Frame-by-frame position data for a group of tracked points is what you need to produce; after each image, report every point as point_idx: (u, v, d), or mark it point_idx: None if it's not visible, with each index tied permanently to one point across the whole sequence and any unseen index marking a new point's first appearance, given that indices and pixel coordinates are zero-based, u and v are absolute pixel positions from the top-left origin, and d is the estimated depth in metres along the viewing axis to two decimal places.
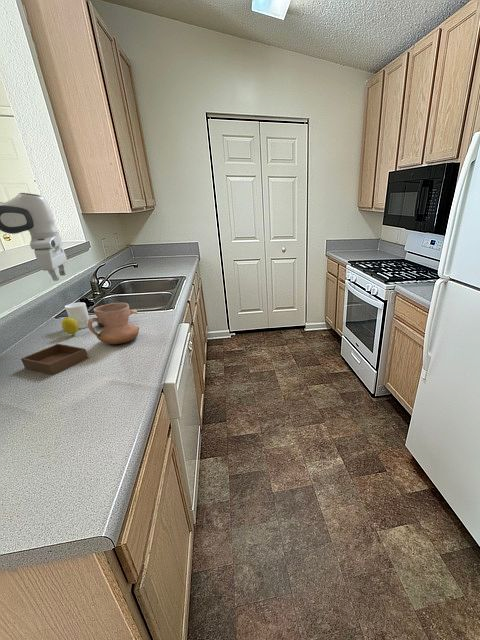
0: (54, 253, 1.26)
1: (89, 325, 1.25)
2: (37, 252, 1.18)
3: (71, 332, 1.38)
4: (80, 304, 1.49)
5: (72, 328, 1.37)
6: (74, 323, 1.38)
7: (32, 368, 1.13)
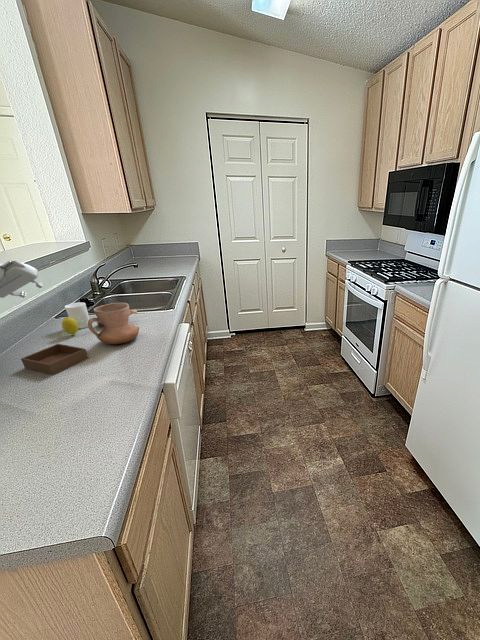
0: (1, 283, 1.21)
1: (89, 325, 1.25)
2: None
3: (71, 332, 1.38)
4: (80, 304, 1.49)
5: (72, 328, 1.37)
6: (74, 323, 1.38)
7: (32, 368, 1.13)
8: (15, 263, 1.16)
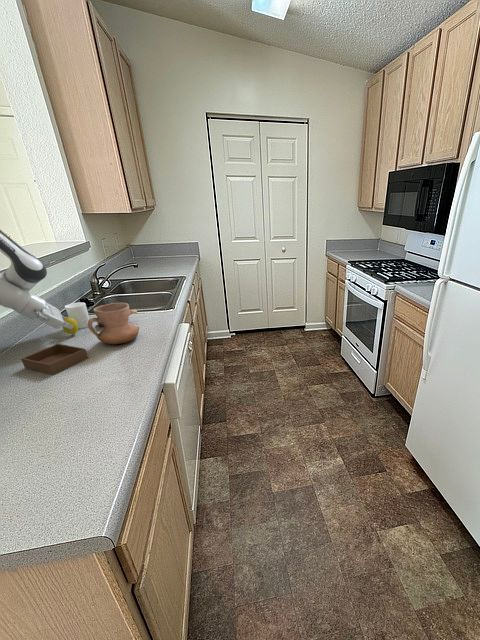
0: None
1: (89, 325, 1.25)
2: None
3: (71, 332, 1.38)
4: (80, 304, 1.49)
5: None
6: (74, 323, 1.38)
7: (32, 368, 1.13)
8: (39, 316, 1.24)
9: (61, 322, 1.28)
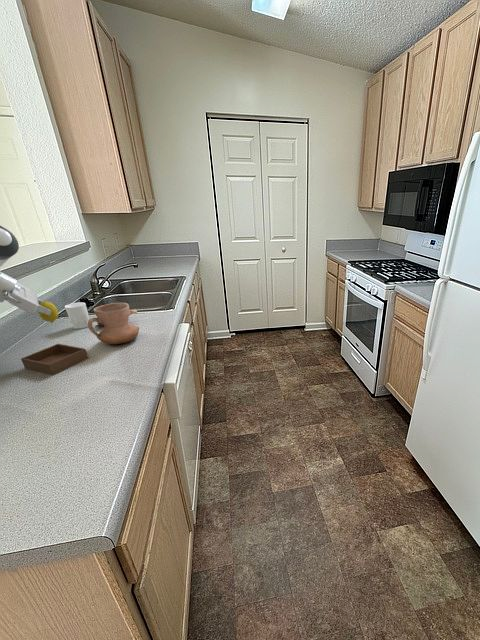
0: None
1: (89, 325, 1.25)
2: None
3: (49, 319, 1.17)
4: (80, 304, 1.49)
5: (50, 314, 1.17)
6: (53, 308, 1.17)
7: (32, 368, 1.13)
8: (8, 298, 1.03)
9: (35, 306, 1.08)
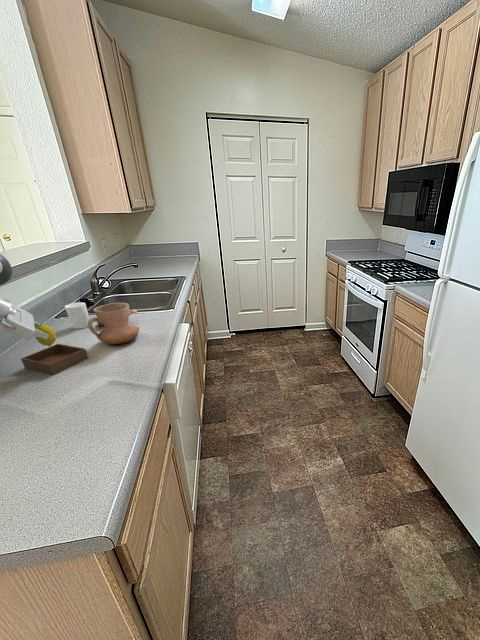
0: None
1: (89, 325, 1.25)
2: None
3: (46, 343, 1.11)
4: (80, 304, 1.49)
5: (48, 338, 1.11)
6: (50, 331, 1.11)
7: (32, 368, 1.13)
8: None
9: (31, 331, 1.01)
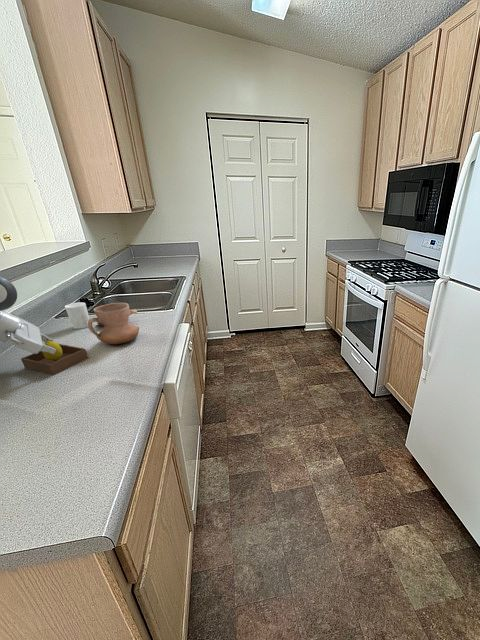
0: None
1: (89, 325, 1.25)
2: None
3: (53, 358, 1.14)
4: (80, 304, 1.49)
5: (55, 354, 1.14)
6: (57, 348, 1.14)
7: (32, 368, 1.13)
8: None
9: (39, 346, 1.04)
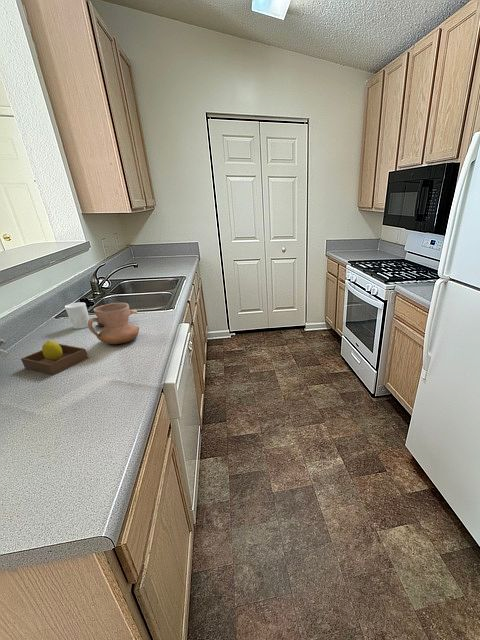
0: None
1: (89, 325, 1.25)
2: None
3: (53, 358, 1.14)
4: (80, 304, 1.49)
5: (55, 354, 1.14)
6: (57, 348, 1.14)
7: (32, 368, 1.13)
8: None
9: None
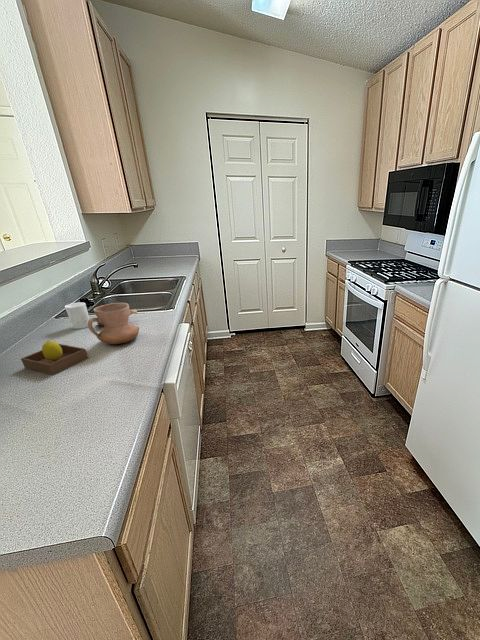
0: None
1: (89, 325, 1.25)
2: None
3: (53, 358, 1.14)
4: (80, 304, 1.49)
5: (55, 354, 1.14)
6: (57, 348, 1.14)
7: (32, 368, 1.13)
8: None
9: None
